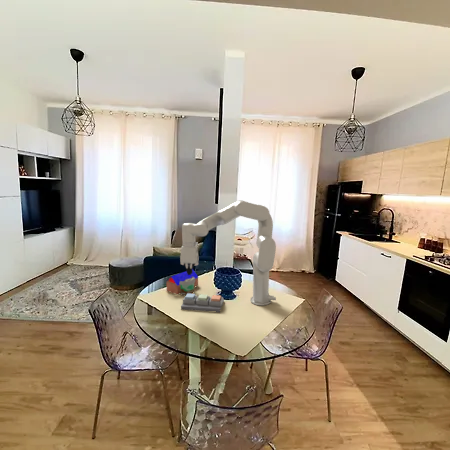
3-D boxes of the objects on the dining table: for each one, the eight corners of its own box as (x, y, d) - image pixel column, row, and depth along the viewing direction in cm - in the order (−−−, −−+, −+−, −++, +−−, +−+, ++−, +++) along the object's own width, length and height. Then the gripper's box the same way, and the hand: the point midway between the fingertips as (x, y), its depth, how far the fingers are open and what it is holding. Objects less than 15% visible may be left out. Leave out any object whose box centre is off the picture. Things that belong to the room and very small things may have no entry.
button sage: (208, 298, 154) (208, 294, 154) (206, 302, 149) (206, 298, 149) (200, 298, 155) (200, 294, 155) (198, 301, 150) (197, 297, 150)
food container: (186, 298, 163) (185, 283, 161) (179, 295, 167) (179, 281, 165) (199, 291, 173) (199, 277, 171) (192, 289, 176) (192, 275, 175)
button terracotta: (221, 299, 153) (221, 295, 153) (219, 303, 148) (219, 299, 148) (212, 298, 154) (212, 295, 154) (211, 302, 149) (211, 298, 149)
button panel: (223, 301, 158) (223, 294, 157) (219, 312, 144) (219, 304, 144) (188, 299, 161) (188, 292, 161) (181, 309, 148) (180, 302, 147)
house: (165, 290, 175) (165, 274, 173) (187, 282, 191) (186, 267, 189) (177, 295, 168) (177, 278, 166) (198, 286, 183) (198, 270, 181)
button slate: (195, 297, 156) (195, 293, 155) (193, 301, 151) (193, 297, 150) (187, 297, 156) (187, 293, 156) (185, 300, 152) (184, 296, 151)
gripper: (203, 243, 151) (203, 272, 154) (178, 242, 153) (179, 271, 156) (199, 246, 144) (200, 277, 146) (174, 245, 146) (175, 275, 149)
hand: (189, 274), depth 151 cm, fingers closed
